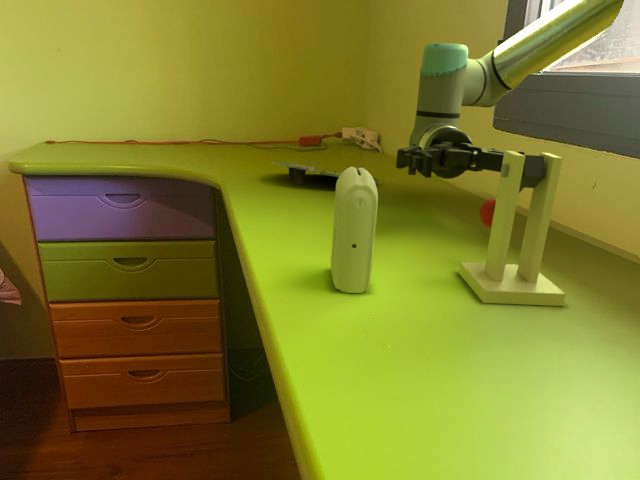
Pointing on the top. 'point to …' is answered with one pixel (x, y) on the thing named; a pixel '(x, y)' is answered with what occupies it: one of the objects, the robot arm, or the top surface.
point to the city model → (299, 170)
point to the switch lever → (530, 179)
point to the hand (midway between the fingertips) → (478, 169)
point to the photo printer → (353, 230)
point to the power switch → (523, 279)
